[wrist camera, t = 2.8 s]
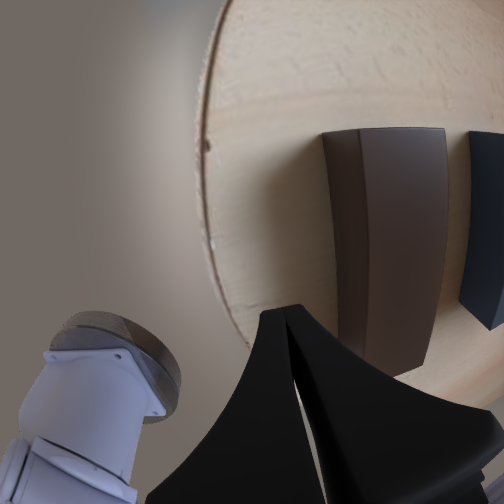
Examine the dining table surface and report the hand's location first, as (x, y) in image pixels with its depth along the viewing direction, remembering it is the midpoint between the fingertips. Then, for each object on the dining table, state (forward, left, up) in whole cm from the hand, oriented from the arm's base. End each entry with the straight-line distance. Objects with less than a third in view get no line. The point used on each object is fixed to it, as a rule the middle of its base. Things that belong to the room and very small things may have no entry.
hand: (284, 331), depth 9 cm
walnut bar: (+5, 0, -5) cm, 7 cm away
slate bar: (+15, 0, -5) cm, 16 cm away
